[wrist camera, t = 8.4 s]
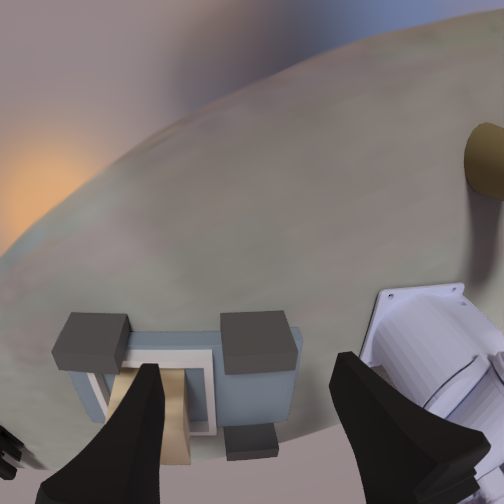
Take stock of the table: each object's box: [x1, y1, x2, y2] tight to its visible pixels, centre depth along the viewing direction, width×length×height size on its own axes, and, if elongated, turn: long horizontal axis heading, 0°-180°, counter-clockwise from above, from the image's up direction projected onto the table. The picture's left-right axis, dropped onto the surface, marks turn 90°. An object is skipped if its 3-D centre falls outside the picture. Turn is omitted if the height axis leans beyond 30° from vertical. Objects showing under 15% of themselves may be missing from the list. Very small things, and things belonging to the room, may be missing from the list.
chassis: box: [51, 311, 303, 461], centre depth 22 cm, size 18×13×4 cm
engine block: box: [105, 367, 190, 465], centre depth 20 cm, size 5×5×6 cm
